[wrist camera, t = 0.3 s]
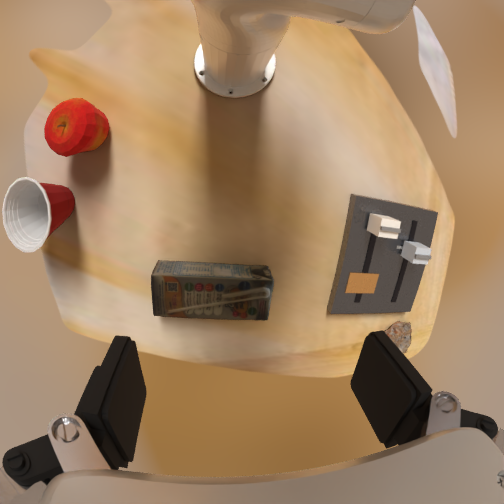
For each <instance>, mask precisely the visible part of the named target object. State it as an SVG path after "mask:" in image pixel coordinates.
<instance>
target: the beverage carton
mask: <svg viewBox="0 0 504 504" xmlns="http://www.w3.org/2000/svg"><path fill="white" fill-rule="evenodd" d="M273 286H274V279H273V277H272V275H271V272H270V270H269V268H268V266H255V265H237V264H217V263H200V262H181V261H160V260H158V262H157V264H156V266H155V268H154V270H153V272H152V275H151V291H152V303H153V314H154V316H163V317H179V318H202V319H227V320H268V316H269V309H270V302H271V297H272V291H273Z"/></svg>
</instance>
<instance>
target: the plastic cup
mask: <svg viewBox="0 0 504 504" xmlns="http://www.w3.org/2000/svg"><path fill="white" fill-rule="evenodd" d="M74 205H75V200H74V196H73V193H72V192H71V190H70V189H69V188H67V187H65V186H62V185H55V184H47V183H39V182H38V181H36V180H34V179H31V178H29V177H23V178H18V179H17V180H16V181H15V182H14V183H13V184H12V185H10V187H9V189H8V191H7V193H6V195H5V197H4V203H3V210H2V213H3V223H4V227H5V230H6V233H7V235H8V238H9V239H10V240H11V242H12V243H13V245H14V246H15V247H16V248H18V249H20V250H21V251H23V252H34V251H36V250H37V249H38V248H40V247H41V246H42V245H43V244H44V242H45V240H46V239H47V238H48V237H49V236H50V234H51V233H52V232H53V231H54V230H56V229H57V228H58V227H59V226H60V225H61V224H62V223H63V222H64V221H65V220H66V219H67V218H68V217H69V216H70V215H71V213H72V211H73V210H74Z"/></svg>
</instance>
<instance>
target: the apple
mask: <svg viewBox="0 0 504 504" xmlns="http://www.w3.org/2000/svg"><path fill="white" fill-rule="evenodd" d="M44 129H45V139H46V141H47V143H48V145H49V147H50V148H51V149H52V150H53V151H54V152H56V153H57V154H58V155H62V156H65V157H68V156H71V155H74V154H77V153H80V152H86V151H91V150H95V149H96V148H98V147H99V146H100V145H101V144H102V143H103V142H104V140H105V139H106V137H107V135H108V131H109V123H108V119H107V118H106V116H105V114H104V113H102V112H101V111H100V110H99V109H97V108H96V107H95V106H93V105H92V104H91V103H89V102H88V101H86V100H84V99H83V98H72V99H69V100H66V101H63V102H62V103H60V104H59V105H57V106H56V107H55V108H54V109H52V111H51V113H50V115H49V116H48V118H47V121H46V125H45V128H44Z"/></svg>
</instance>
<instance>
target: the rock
mask: <svg viewBox="0 0 504 504" xmlns="http://www.w3.org/2000/svg"><path fill="white" fill-rule="evenodd" d="M385 333H386V334H387V335H388V337H389V338H390V339H391V340H392V341H393V342H394V344H395V345H396V346H397V347H398V348H399V350H400V351H401V352H402V353H406V351H407V348H408V347H409V346H410V344H411V325H410V322H409V323H405V322H400V321H397V322H396V323H394V324H393V325H392V326H391V327H390V328H389V329H387V330H386V331H385Z"/></svg>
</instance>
